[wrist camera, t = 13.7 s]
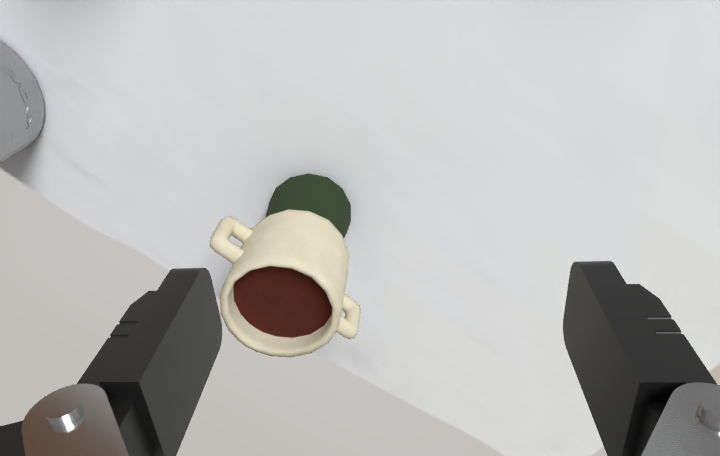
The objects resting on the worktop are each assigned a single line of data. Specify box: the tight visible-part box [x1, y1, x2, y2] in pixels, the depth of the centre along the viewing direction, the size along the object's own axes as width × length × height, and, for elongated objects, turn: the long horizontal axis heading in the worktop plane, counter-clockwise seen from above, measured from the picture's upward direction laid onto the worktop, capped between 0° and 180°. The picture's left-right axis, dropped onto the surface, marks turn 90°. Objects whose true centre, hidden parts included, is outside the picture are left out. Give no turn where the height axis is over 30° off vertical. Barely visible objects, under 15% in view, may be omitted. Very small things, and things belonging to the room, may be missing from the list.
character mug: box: [210, 174, 361, 357], centre depth 38 cm, size 11×7×13 cm, turn 51°
